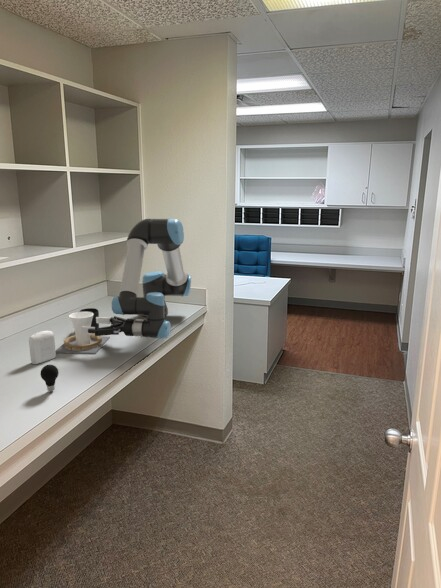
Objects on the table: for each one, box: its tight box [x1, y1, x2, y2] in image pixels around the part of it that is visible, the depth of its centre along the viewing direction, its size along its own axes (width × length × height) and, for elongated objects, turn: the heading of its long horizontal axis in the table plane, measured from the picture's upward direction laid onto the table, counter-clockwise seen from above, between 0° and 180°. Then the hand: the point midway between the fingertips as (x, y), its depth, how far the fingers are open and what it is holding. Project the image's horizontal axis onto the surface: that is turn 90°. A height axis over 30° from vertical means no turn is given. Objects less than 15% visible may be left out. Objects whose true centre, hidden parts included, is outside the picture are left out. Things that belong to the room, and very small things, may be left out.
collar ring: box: [63, 333, 102, 351], centre depth 200 cm, size 16×16×2 cm
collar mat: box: [55, 336, 111, 355], centre depth 200 cm, size 20×18×1 cm
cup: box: [68, 311, 94, 345], centre depth 198 cm, size 10×10×14 cm
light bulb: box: [40, 364, 60, 393], centre depth 155 cm, size 6×6×10 cm
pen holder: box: [79, 307, 100, 328], centre depth 218 cm, size 9×9×10 cm
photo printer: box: [28, 330, 57, 365], centre depth 182 cm, size 10×4×12 cm, turn 144°
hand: (89, 324), depth 197 cm, fingers open, 13 cm apart
